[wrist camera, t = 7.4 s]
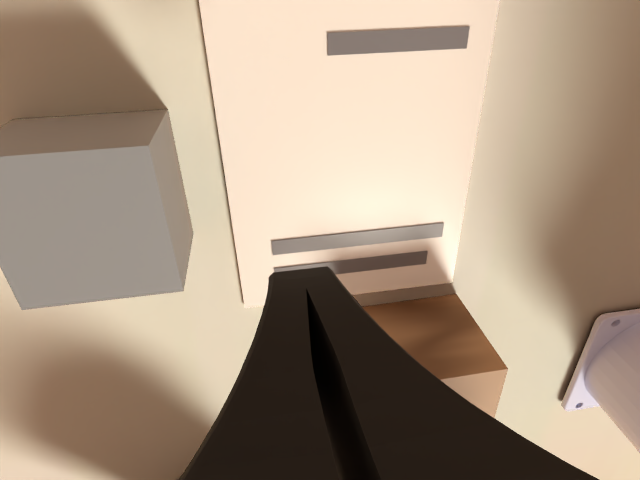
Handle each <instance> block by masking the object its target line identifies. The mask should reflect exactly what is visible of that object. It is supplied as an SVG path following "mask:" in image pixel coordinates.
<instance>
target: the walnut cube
mask: <svg viewBox="0 0 640 480" xmlns="http://www.w3.org/2000/svg"><path fill="white" fill-rule="evenodd" d="M362 308H363V309H364V310H365V311H366V312H367V313H368V314H369V315H370V316H371V317H372V318H373V319H374V320H375V321H376V322H377V323H378V324H379V326H380V327H381V328H382V329H383V330H384V331H385V332H386V333H387V334H388V335H389V336H390V337H391V338H393V339H394V340H395V341H396V342H397V343H398V344H399V345H400V346H401V347H402V348H403V349H404V350H405V351H406V352H408V353H409V354H410V355H411V356H412V357H413V358H414V359H416V360H417V361H418V362H419V363H420V364H421V365H423V366H424V367H425V368H426V369H427V370H428V371H430V372H431V373H432V374H433V375H435V376H436V377H437V378H439V379H440V380H441V381H442V382H444V383H445V384H446V385H447V386H449V387H450V388H451V389H453V390H454V391H455V392H457V393H458V394H460V395H461V396H462V397H464V398H465V399H466V400H468V401H469V402H470V403H472V404H473V405H475V406H476V407H478V408H479V409H481V410H482V411H484V412H486V413H487V414H489V415H490V416H492V417H493V418H494V417H495V413H496V410H497V406H498V403H499V399H500V396H501V392H502V388H503V385H504V381H505V378H506V374H507V370H508V368H507V367H506V365H505V364H504V362H503V361H502V359H501V358H500V357H499V355H498V354H497V352H496V351H495V349H494V348H493V346H492V345H491V344H490V342H489V341H488V339H487V338H486V336H485V335H484V333H483V332H482V330H481V329H480V328H479V326H478V325H477V323H476V322H475V320H474V319H473V317H472V316H471V315H470V313H469V312H468V310H467V309H466V307H465V306H464V304H463V303H462V301H461V300H460V299H459V297H458V296H457V294H452V295H445V296H438V297H431V298H423V299H416V300H409V301H402V302H394V303H387V304H380V305H372V306H365V307H362Z"/></svg>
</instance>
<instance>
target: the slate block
mask: <svg viewBox="0 0 640 480" xmlns="http://www.w3.org/2000/svg"><path fill="white" fill-rule="evenodd" d="M192 238H193V229H192V224H191V219H190V214H189V209H188V205H187V200H186V195H185V190H184V185H183V180H182V175H181V171H180V166H179V161H178V156H177V151H176V146H175V141H174V137H173V132H172V127H171V122H170V117H169V112H168V109H164V110H149V111H133V112H118V113H103V114H87V115H72V116H56V117H41V118H26V119H13V120H11V121H9V122H8V123H6V124H5V125H3V126H1V127H0V267H1V269H2V271H3V273H4V275H5V277H6V279H7V281H8V283H9V285H10V287H11V289H12V291H13V293H14V295H15V297H16V299H17V301H18V303H19V305H20V307H21V309H22V310H26V309H34V308H43V307H52V306H60V305H69V304H77V303H86V302H94V301H103V300H112V299H120V298H129V297H137V296H146V295H155V294H163V293H172V292H180V291H184V285H185V279H186V273H187V267H188V262H189V256H190V250H191V244H192Z"/></svg>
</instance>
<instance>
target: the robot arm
mask: <svg viewBox="0 0 640 480" xmlns="http://www.w3.org/2000/svg"><path fill="white" fill-rule="evenodd" d="M561 405H562V407H563V408H564V410H566V411H574V410H580V409H585V408H591V407H597V406H600V407H601V408H602V409H603V410H604V411H605V412H606V414H607V415H608V416H609V417H610V418H611V420H612V421H613V422H614V423H615V424H616V425H617V427H618V428H619V429H620V430H621V431H622V432H623V434H624V435H625V436H626V437H627V438H628V440H629V441H630V442H631V443H632V444H633V445H634V447H635V448H636V449H637V450H638V451H639V453H640V309H634V310H627V311H619V312H612V313H605V314H602V315H600V316H599V317H598V318H597V319H596V320H595V323H594V325H593V327H592V330H591V332H590V335H589V337H588V340H587V342H586V345H585V347H584V349H583V352H582V354H581V357H580V359H579V362H578V364H577V366H576V369H575V371H574V374H573V376H572V379H571V381H570V384H569V386H568V388H567V391H566V393H565V396H564V398H563V401H562V403H561ZM179 480H599V479H597V478H595V477H593V476H591V475H589V474H587V473H585V472H584V471H582V470H580V469H578V468H576V467H574V466H572V465H570V464H569V463H567V462H565V461H563V460H561V459H560V458H558V457H556V456H555V455H553V454H551V453H549V452H548V451H546V450H544V449H543V448H541V447H539V446H537V445H536V444H534V443H532V442H531V441H529V440H527V439H525V438H524V437H522V436H521V435H519V434H517V433H516V432H514V431H513V430H511V429H510V428H508V427H507V426H505V425H504V424H502V423H501V422H499V421H498V420H496V419H495V418H493V417H492V416H490V415H489V414H487V413H486V412H484V411H482V410H481V409H479V408H478V407H476V406H475V405H473V404H472V403H470V402H469V401H468V400H466V399H465V398H464V397H462V396H461V395H460V394H458V393H457V392H455V391H454V390H453V389H451V388H450V387H449V386H447V385H446V384H445V383H444V382H442V381H441V380H440V379H439V378H437V377H436V376H435V375H433V374H432V373H431V372H430V371H428V370H427V369H426V368H425V367H424V366H423V365H421V364H420V363H419V362H418V361H417V360H416V359H414V358H413V357H412V356H411V355H410V354H409V353H408V352H406V351H405V350H404V349H403V348H402V347H401V346H400V345H399V344H398V343H397V342H396V341H395V340H394V339H393V338H391V337H390V336H389V335H388V334H387V333H386V332H385V331H384V330H383V329H382V328H381V327H380V326H379V324H378V323H377V322H376V321H375V320H374V319H373V318H372V317H371V316H370V315H369V314H368V313H367V312H366V311H365V310H364V309H363V308H362V306H361V305H360V304H359V303H358V302H357V301H356V300H355V298H354V297H353V296H352V295H351V294H350V293H349V291H348V290H347V289H346V288H345V286H344V285H343V284H342V283H341V281H340V280H339V279H338V277H337V276H336V275H335V273H334V272H333V271H332V270H331V269H330V268H329V267H328V266H325V267H316V268H308V269H299V270H290V271H281V272H273V273H272V274H271V275H270V276H269V283H268V291H267V296H266V301H265V305H264V308H263V312H262V316H261V319H260V322H259V325H258V328H257V331H256V334H255V337H254V339H253V342H252V345H251V347H250V349H249V352H248V354H247V357H246V359H245V361H244V364H243V366H242V369H241V371H240V373H239V375H238V378H237V380H236V382H235V384H234V386H233V388H232V390H231V392H230V394H229V396H228V398H227V400H226V402H225V404H224V406H223V408H222V409H221V411H220V413H219V415H218V417H217V419H216V421H215V422H214V424H213V426H212V427H211V429H210V431H209V433H208V434H207V436H206V438H205V439H204V441H203V443H202V444H201V446H200V448H199V450H198V451H197V453H196V454H195V456H194V458H193V459H192V461H191V462H190V464H189V466H188V467H187V469H186V470H185V472H184V473H183V475H182V476H181V478H180V479H179Z"/></svg>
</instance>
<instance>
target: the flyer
mask: <svg viewBox="0 0 640 480" xmlns="http://www.w3.org/2000/svg"><path fill="white" fill-rule="evenodd" d="M499 5H500V0H199V6H200V12H201V19H202V26H203V33H204V39H205V46H206V53H207V59H208V66H209V73H210V79H211V86H212V93H213V99H214V106H215V113H216V120H217V126H218V133H219V140H220V146H221V153H222V160H223V166H224V173H225V180H226V187H227V193H228V200H229V207H230V213H231V220H232V227H233V233H234V240H235V247H236V253H237V260H238V267H239V274H240V280H241V287H242V294H243V300H244V307H245V308H252V307H260V306H264V305H265V301H266V296H267V291H268V283H269V276H270V275H271V274H272V273H273V272H281V271H290V270H299V269H308V268H316V267H325V266H328V267H329V268H330V269H331V270H332V271H333V272H334V273H335V275H336V276H337V277H338V279H339V280H340V281H341V283H342V284H343V285H344V286H345V288H346V289H347V290H348V291H349V293H350V294H351V295H356V294H365V293H373V292H381V291H389V290H397V289H405V288H413V287H421V286H429V285H437V284H445V283H452V281H453V275H454V269H455V263H456V257H457V251H458V246H459V240H460V234H461V228H462V222H463V216H464V210H465V204H466V199H467V193H468V187H469V181H470V175H471V169H472V163H473V157H474V152H475V146H476V140H477V134H478V128H479V122H480V116H481V110H482V105H483V99H484V93H485V87H486V81H487V75H488V69H489V63H490V58H491V52H492V46H493V40H494V34H495V28H496V22H497V16H498V11H499Z"/></svg>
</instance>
